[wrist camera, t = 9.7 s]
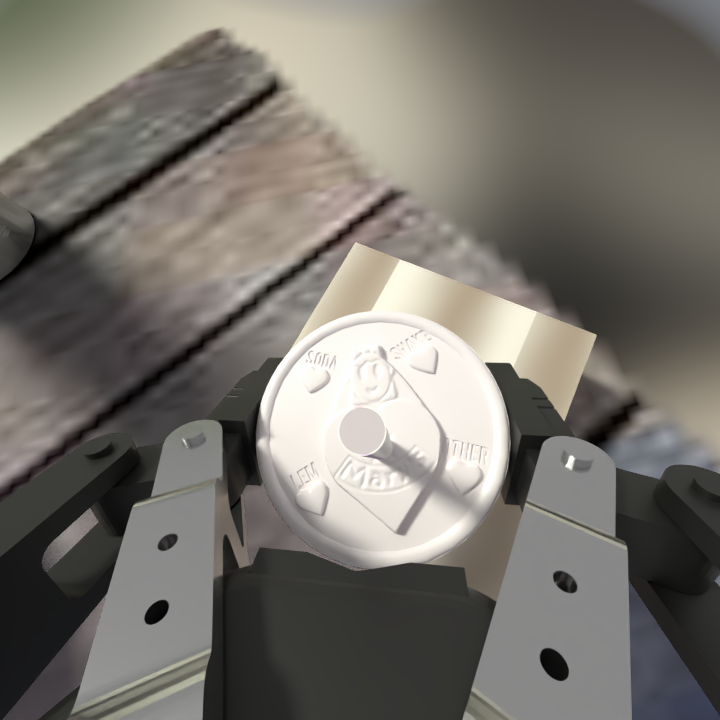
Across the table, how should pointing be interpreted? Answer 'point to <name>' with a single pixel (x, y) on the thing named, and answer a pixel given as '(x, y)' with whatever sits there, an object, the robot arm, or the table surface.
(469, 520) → the white cup with straw
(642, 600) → the robot arm
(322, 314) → the notched board
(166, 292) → the table surface
